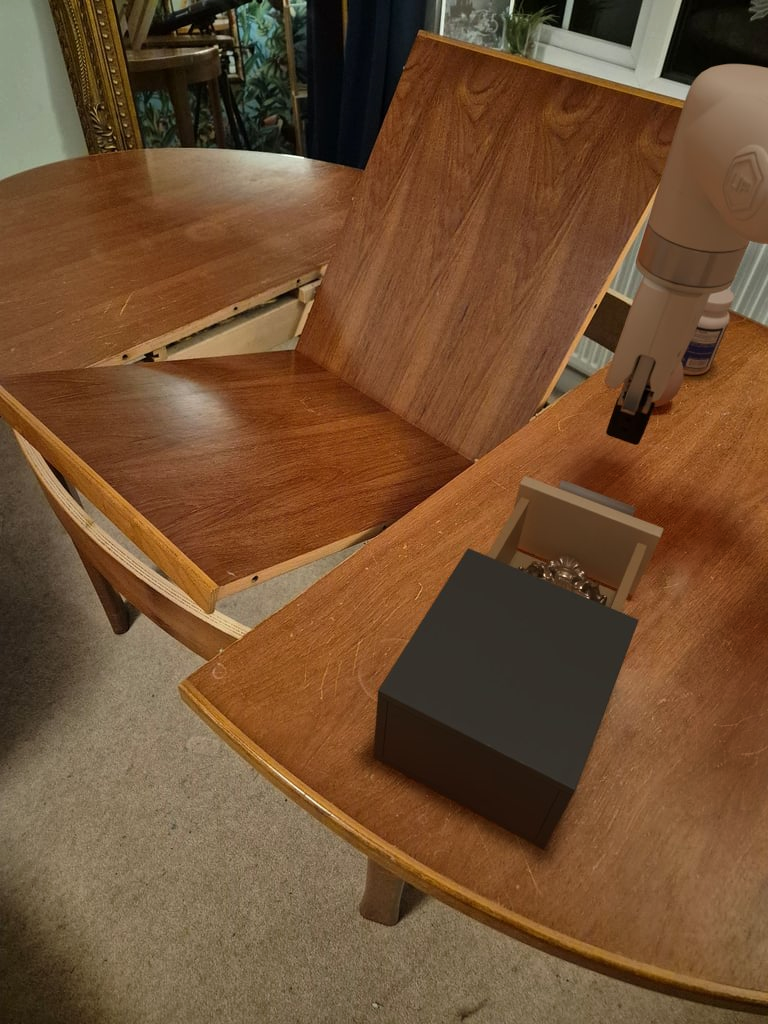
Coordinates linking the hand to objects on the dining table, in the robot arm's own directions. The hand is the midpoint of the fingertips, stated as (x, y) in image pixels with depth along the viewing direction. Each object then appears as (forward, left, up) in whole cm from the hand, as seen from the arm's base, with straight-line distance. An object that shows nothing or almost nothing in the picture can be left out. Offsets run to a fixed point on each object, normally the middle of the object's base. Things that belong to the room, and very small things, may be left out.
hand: (623, 435), depth 70 cm
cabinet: (0, +29, -9) cm, 30 cm away
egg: (0, -19, -9) cm, 21 cm away
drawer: (0, +15, -8) cm, 17 cm away
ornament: (-1, +17, -7) cm, 18 cm away
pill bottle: (-2, -30, -9) cm, 31 cm away
